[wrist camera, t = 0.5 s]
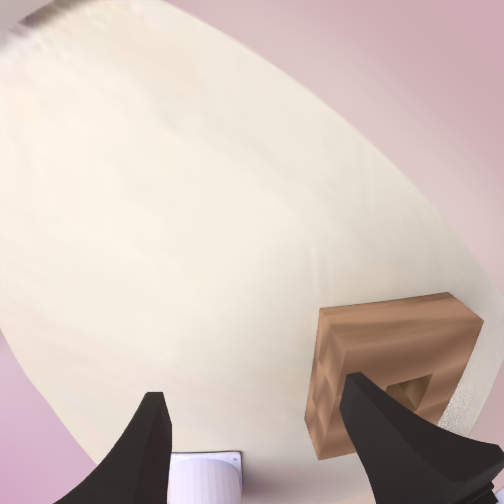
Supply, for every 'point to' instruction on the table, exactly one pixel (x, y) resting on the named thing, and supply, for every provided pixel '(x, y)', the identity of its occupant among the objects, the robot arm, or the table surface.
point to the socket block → (388, 359)
